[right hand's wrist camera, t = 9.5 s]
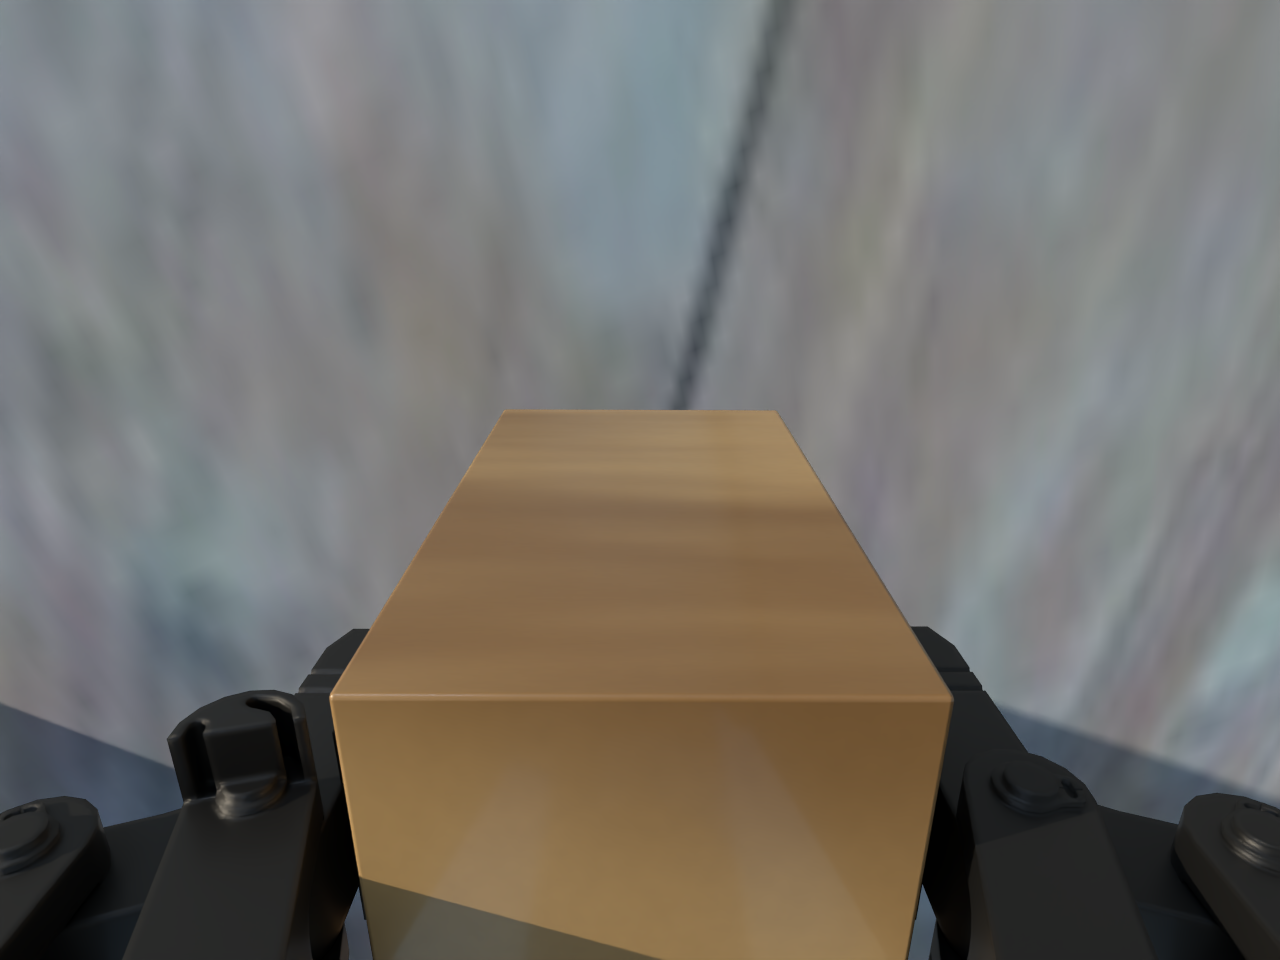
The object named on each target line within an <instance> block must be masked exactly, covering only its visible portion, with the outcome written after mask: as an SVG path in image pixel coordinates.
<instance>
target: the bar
mask: <svg viewBox="0 0 1280 960" xmlns="http://www.w3.org/2000/svg"><path fill="white" fill-rule="evenodd" d="M329 699H330V706H331V712H332V718H333V724H334V730H335V736H336V741H337V747H338V753H339V759H340V765H341V771H342V777H343V783H344V789H345V795H346V801H347V807H348V813H349V819H350V825H351V831H352V837H353V843H354V849H355V855H356V861H357V867H358V873H359V879H360V885H361V891H362V897H363V903H364V909H365V914H366V920H367V926H368V932H369V938H370V944H371V950H372V956H373V960H908V955H909V950H910V944H911V939H912V933H913V928H914V922H915V916H916V911H917V905H918V900H919V894H920V889H921V883H922V877H923V872H924V866H925V861H926V855H927V850H928V844H929V838H930V833H931V827H932V822H933V816H934V810H935V805H936V799H937V794H938V788H939V783H940V777H941V771H942V766H943V760H944V755H945V749H946V744H947V738H948V732H949V727H950V721H951V716H952V710H953V704H954V697H953V695H952V693H951V691H950V690H949V688H948V687H947V685H946V683H945V682H944V680H943V679H942V677H941V675H940V674H939V672H938V670H937V669H936V667H935V666H934V664H933V662H932V661H931V659H930V657H929V656H928V654H927V653H926V651H925V649H924V648H923V646H922V645H921V643H920V641H919V640H918V638H917V636H916V635H915V633H914V632H913V630H912V628H911V627H910V625H909V624H908V622H907V620H906V619H905V617H904V615H903V614H902V612H901V611H900V609H899V607H898V606H897V604H896V602H895V601H894V599H893V598H892V596H891V594H890V593H889V591H888V590H887V588H886V586H885V585H884V583H883V581H882V580H881V578H880V577H879V575H878V573H877V572H876V570H875V568H874V567H873V565H872V564H871V562H870V560H869V559H868V557H867V556H866V554H865V552H864V551H863V549H862V547H861V546H860V544H859V543H858V541H857V539H856V538H855V536H854V535H853V533H852V531H851V530H850V528H849V526H848V525H847V523H846V522H845V520H844V518H843V517H842V515H841V513H840V512H839V510H838V509H837V507H836V505H835V504H834V502H833V501H832V499H831V497H830V496H829V494H828V492H827V491H826V489H825V488H824V486H823V484H822V483H821V481H820V479H819V478H818V476H817V475H816V473H815V471H814V470H813V468H812V467H811V465H810V463H809V462H808V460H807V458H806V457H805V455H804V454H803V452H802V450H801V449H800V447H799V446H798V444H797V442H796V441H795V439H794V437H793V436H792V434H791V433H790V431H789V429H788V428H787V426H786V424H785V423H784V421H783V420H782V418H781V416H780V415H779V413H778V412H777V411H754V410H504V412H503V413H502V415H501V417H500V418H499V420H498V421H497V423H496V425H495V426H494V428H493V430H492V431H491V433H490V434H489V436H488V438H487V439H486V441H485V443H484V444H483V446H482V447H481V449H480V451H479V452H478V454H477V456H476V457H475V459H474V460H473V462H472V464H471V465H470V467H469V469H468V470H467V472H466V474H465V475H464V477H463V478H462V480H461V482H460V483H459V485H458V487H457V488H456V490H455V491H454V493H453V495H452V496H451V498H450V500H449V501H448V503H447V504H446V506H445V508H444V509H443V511H442V513H441V514H440V516H439V518H438V519H437V521H436V522H435V524H434V526H433V527H432V529H431V531H430V532H429V534H428V535H427V537H426V539H425V540H424V542H423V544H422V545H421V547H420V548H419V550H418V552H417V553H416V555H415V557H414V558H413V560H412V561H411V563H410V565H409V566H408V568H407V570H406V571H405V573H404V575H403V576H402V578H401V579H400V581H399V583H398V584H397V586H396V588H395V589H394V591H393V592H392V594H391V596H390V597H389V599H388V601H387V602H386V604H385V605H384V607H383V609H382V610H381V612H380V614H379V615H378V617H377V618H376V620H375V622H374V623H373V625H372V627H371V628H370V630H369V632H368V633H367V635H366V636H365V638H364V640H363V641H362V643H361V645H360V646H359V648H358V649H357V651H356V653H355V654H354V656H353V658H352V659H351V661H350V662H349V664H348V666H347V667H346V669H345V671H344V672H343V674H342V675H341V677H340V679H339V680H338V682H337V684H336V685H335V687H334V689H333V690H332V692H331V694H330V697H329Z"/></svg>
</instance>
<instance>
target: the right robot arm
mask: <svg viewBox="0 0 1280 960" xmlns="http://www.w3.org/2000/svg"><path fill="white" fill-rule="evenodd" d="M911 628H912V630H913V632H914V633H915V635H916V636H917V638H918V640H919V641H920V643H921V645H922V646H923V648H924V649H925V651H926V653H927V654H928V656H929V657H930V659H931V661H932V662H933V664H934V666H935V667H936V669H937V670H938V672H939V674H940V675H941V677H942V679H943V680H944V682H945V683H946V685H947V687H948V688H949V690H950V691H951V693H952V695H953V697H954V704H953V710H952V716H951V721H950V727H949V732H948V738H947V744H946V749H945V755H944V760H943V766H942V771H941V777H940V783H939V788H938V794H937V799H936V805H935V810H934V816H933V822H932V827H931V833H930V838H929V844H928V850H927V855H926V861H925V866H924V872H923V877H922V883H921V888H922V884H923V886H924V889H925V891H926V894H927V896H928V899H929V901H930V904H931V906H932V909H933V911H934V914H935V916H936V923H935V928H934V934H933V939H932V944H931V950H930V955H929V960H1280V810H1279V809H1277V808H1276V807H1273V806H1270V805H1267V804H1265V803H1261V802H1258V801H1256V800H1252V799H1249V798H1247V797H1243V796H1236V795H1228V794H1221V793H1213V794H1206V795H1200V796H1196V797H1194V798H1193V799H1192V800H1191V801H1190V802H1189V803H1187V804H1186V805H1185V806H1184V809H1183V812H1182V815H1181V818H1180V821H1179V825H1178V824H1173V823H1169V822H1164V821H1160V820H1156V819H1151V818H1147V817H1143V816H1138V815H1134V814H1129V813H1125V812H1121V811H1117V810H1114V809H1110V808H1107V807H1104V806H1100V805H1097V802H1096V800H1095V799H1094V797H1093V796H1092V794H1091V793H1090V791H1089V790H1088V788H1087V787H1086V785H1085V784H1084V783H1083V782H1081V781H1080V780H1079V779H1078V778H1077V777H1075V776H1074V775H1073V774H1072V773H1070V772H1069V771H1068V770H1067V769H1065V768H1064V767H1062V766H1060V765H1058V764H1056V763H1054V762H1052V761H1050V760H1048V759H1046V758H1044V757H1042V756H1038V755H1034V754H1031V753H1028V752H1027V750H1026V749H1025V747H1024V746H1023V745H1022V743H1021V742H1020V740H1019V739H1018V737H1017V736H1016V734H1015V733H1014V732H1013V730H1012V729H1011V727H1010V726H1009V724H1008V723H1007V721H1006V720H1005V718H1004V717H1003V716H1002V714H1001V713H1000V711H999V710H998V708H997V707H996V705H995V704H994V702H993V701H992V700H991V698H990V697H989V695H988V694H987V692H986V691H983V690H982V685H981V684H980V682H979V681H978V679H977V678H976V676H975V675H974V673H973V672H970V670H969V666H968V665H967V663H966V662H965V660H964V659H963V657H962V656H961V655H960V653H959V652H958V650H957V649H956V647H955V646H954V645H953V644H951V643H950V642H949V641H947V640H946V639H944V638H943V637H942V636H940V635H939V634H937V633H936V632H935V631H933V630H932V629H930V628H929V627H911ZM369 630H370V629H352V630H351V631H350V632H348V633H347V634H345V635H344V636H343V637H341V638H340V639H338V640H337V641H336V642H334V643H333V644H331V645H330V646H329V647H327V648H326V650H325V651H324V653H323V654H322V655H321V657H320V658H319V660H318V661H317V663H316V664H315V666H314V667H313V669H312V670H311V671H312V672H311V675H308V676H307V677H306V679H305V680H304V682H303V683H302V685H301V686H300V688H299V693H295V695H293V694H289V693H285V692H281V691H277V690H257V691H247V692H243V693H239V694H235V695H231V696H227V697H224V698H221V699H219V700H217V701H215V702H212V703H210V704H208V705H206V706H203V707H201V708H199V709H198V710H196V711H195V712H194V713H192V714H191V715H189V716H188V717H187V718H185V719H184V720H182V721H181V722H180V723H179V724H178V725H177V726H176V728H175V729H174V730H173V732H172V733H171V734H170V736H169V737H168V738H167V741H168V745H169V749H170V753H171V756H172V760H173V764H174V768H175V771H176V775H177V779H178V783H179V786H180V790H181V794H182V797H183V801H184V804H183V806H182V808H181V809H178V810H174V811H171V812H168V813H164V814H161V815H156V816H152V817H148V818H143V819H139V820H134V821H130V822H126V823H121V824H117V825H113V826H108V827H104V828H103V826H102V822H101V819H100V816H99V813H98V810H97V808H95V807H94V806H93V805H92V804H91V803H89V802H88V801H87V800H86V799H81V798H74V797H68V796H62V797H54V798H47V799H40V800H36V801H33V802H30V803H27V804H24V805H21V806H18V807H15V808H12V809H9V810H7V811H5V812H3V813H1V814H0V960H348V959H349V947H348V940H347V934H346V928H345V923H344V921H345V919H346V916H347V914H348V911H349V909H350V906H351V904H352V901H353V899H354V896H355V894H356V892H357V889H358V887H359V891H360V897H361V902H362V908H363V914H364V920H366V914H365V909H364V903H363V897H362V891H361V885H360V879H359V873H358V867H357V861H356V855H355V849H354V843H353V837H352V831H351V825H350V819H349V813H348V807H347V801H346V795H345V789H344V783H343V777H342V771H341V765H340V759H339V753H338V747H337V741H336V736H335V730H334V724H333V718H332V712H331V706H330V699H329V697H330V694H331V692H332V690H333V689H334V687H335V685H336V684H337V682H338V680H339V679H340V677H341V675H342V674H343V672H344V671H345V669H346V667H347V666H348V664H349V662H350V661H351V659H352V658H353V656H354V654H355V653H356V651H357V649H358V648H359V646H360V645H361V643H362V641H363V640H364V638H365V636H366V635H367V633H368V632H369ZM920 894H921V889H920ZM920 894H919V900H920ZM919 900H918V905H919ZM918 905H917V911H918ZM917 911H916V916H915V920H916V917H917Z"/></svg>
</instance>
